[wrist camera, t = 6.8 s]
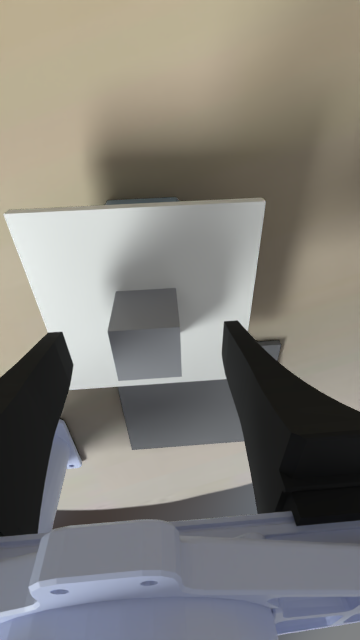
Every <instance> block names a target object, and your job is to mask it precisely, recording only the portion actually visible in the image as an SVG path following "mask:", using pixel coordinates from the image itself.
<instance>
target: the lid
mask: <svg viewBox="0 0 360 640" xmlns="http://www.w3.org/2000/svg"><path fill="white" fill-rule="evenodd" d="M265 204H266V201H265V200H264V199H263V198H242V199H222V200H201V201H180V202H159V203H138V204H117V205H97V206H76V207H55V208H34V209H13V210H8V211H7V212H5V213H4V217H5V220H6V222H7V225H8V228H9V230H10V233H11V236H12V238H13V241H14V244H15V246H16V249H17V252H18V254H19V257H20V259H21V262H22V265H23V267H24V270H25V273H26V275H27V278H28V281H29V283H30V286H31V289H32V291H33V294H34V297H35V299H36V302H37V305H38V307H39V310H40V313H41V315H42V318H43V321H44V323H45V326H46V328H47V331H48V333H49V332H63V335H64V338H65V341H66V344H67V347H68V350H69V353H70V356H71V359H72V362H73V365H74V366H73V372H72V378H71V384H70V387H69V390H77V389H91V388H106V387H120V386H134V385H149V384H163V383H178V382H192V381H206V380H221V379H226V375H225V371H224V366H223V360H222V341H223V327H224V321H236V320H237V321H239V322H240V324H241V325H242V326H243V327H244V328H245V329H246V330H247V331H248V328H249V320H250V313H251V306H252V299H253V291H254V284H255V277H256V270H257V262H258V255H259V248H260V241H261V233H262V226H263V219H264V212H265Z"/></svg>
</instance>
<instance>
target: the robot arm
mask: <svg viewBox="0 0 360 640" xmlns="http://www.w3.org/2000/svg"><path fill="white" fill-rule="evenodd" d="M222 360H223V366H224V371H225V375H226V379H227V382H228V385H229V388H230V391H231V394H232V397H233V400H234V404H235V407H236V410H237V413H238V416H239V420H240V423H241V427H242V432H243V437H244V442H245V446H246V451H247V456H248V461H249V467H250V472H251V477H252V483H253V488H254V494H255V500H256V506H257V512H258V514H252V515H242V516H230V517H219V518H208V519H196V520H185V521H174V522H165V521H162V520H150V519H144V520H143V519H142V520H131V521H120V522H109V523H98V524H86V525H75V526H66V527H62V528H56V529H53V530H52V527H53V522H54V518H55V514H56V510H57V506H58V502H59V498H60V493H61V489H62V485H63V481H64V477H65V473H66V469H70V468H79V467H81V466H82V461H81V458H80V456H79V454H78V452H77V449H76V447H75V445H74V442H73V440H72V438H71V435H70V433H69V431H68V429H67V426H66V424H65V422H64V421H63V420H61V419H60V416H61V413H62V410H63V407H64V403H65V400H66V397H67V394H68V391H69V387H70V384H71V378H72V372H73V366H74V365H73V362H72V359H71V356H70V353H69V350H68V347H67V344H66V341H65V338H64V335H63V332H49V333H47V334H46V335H45V336H44V337H43V338H42V339H41V340H40V341H39V342H38V343H37V344H36V345H35V346H34V347H33V348H32V349H31V350H30V351H29V352H28V353H27V354H26V355H25V356H24V357H23V358H22V359H21V360H20V361H18V362H17V363H16V364H15V365H14V366H13V367H12V368H11V369H10V370H8V371H7V372H6V373H5V374H4V375H3V376H2V377H1V378H0V640H279V639H278V635H281V634H288V633H294V632H300V631H307V630H313V629H319V628H325V627H332V626H338V625H344V624H351V623H356V622H360V412H359V411H357V410H355V409H353V408H351V407H348V406H346V405H344V404H342V403H340V402H338V401H336V400H335V399H333V398H331V397H329V396H327V395H325V394H324V393H322V392H320V391H318V390H317V389H315V388H314V387H312V386H310V385H309V384H307V383H306V382H304V381H303V380H301V379H300V378H298V377H297V376H295V375H294V374H293V373H291V372H290V371H289V370H287V369H286V368H285V367H284V366H282V365H281V364H280V363H279V362H278V361H277V360H275V359H274V358H273V357H272V356H271V355H270V354H269V353H268V352H267V351H266V350H265V349H264V348H263V347H262V346H261V345H260V344H259V343H258V342H257V341H256V340H255V339H254V338H253V337H252V336H251V335H250V334H249V333H248V331H247V330H246V329H245V328H244V327H243V326H242V325H241V324H240V322H239V321H237V320H236V321H224V327H223V341H222Z"/></svg>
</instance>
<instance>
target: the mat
mask: <svg viewBox="0 0 360 640" xmlns="http://www.w3.org/2000/svg"><path fill="white" fill-rule="evenodd" d="M258 343H259V344H260V345H261V346H262V347H263V348H264V349H265V350H266V351H267V352H268V353H269V354H270V355H271V356H272V357H273V358H274V359H275V360H277V361H278V357H279V352H280V348H281V343H280V341H279V340H277V341H261V342H258ZM118 391H119V395H120V400H121V404H122V408H123V413H124V417H125V421H126V426H127V430H128V434H129V439H130V443H131V447H132V450H137V449H150V448H163V447H176V446H189V445H201V444H214V443H227V442H240V441H244V437H243V432H242V427H241V423H240V420H239V416H238V413H237V410H236V407H235V404H234V400H233V397H232V394H231V391H230V388H229V385H228V382H227V379H221V380H206V381H192V382H178V383H163V384H149V385H134V386H120V387H118Z"/></svg>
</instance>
